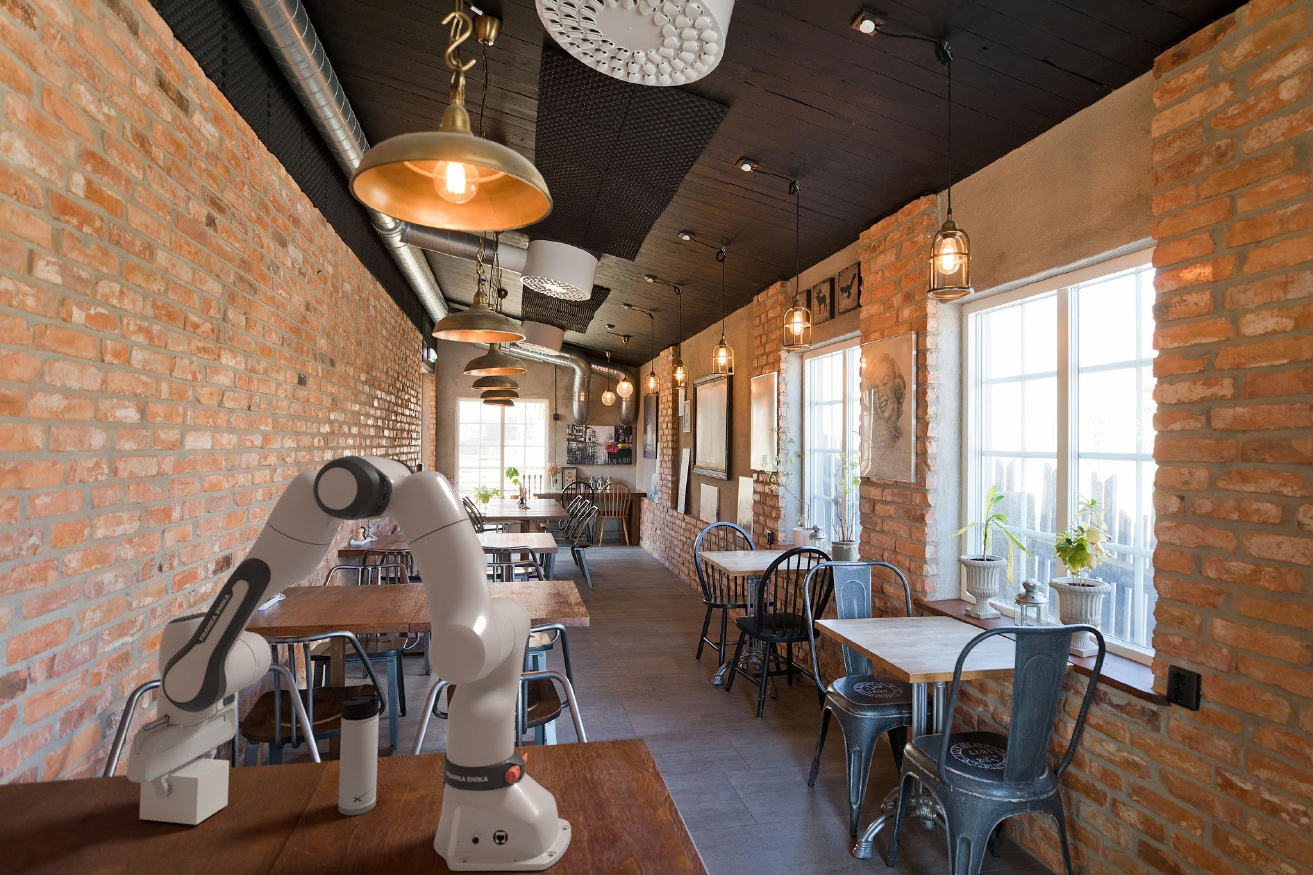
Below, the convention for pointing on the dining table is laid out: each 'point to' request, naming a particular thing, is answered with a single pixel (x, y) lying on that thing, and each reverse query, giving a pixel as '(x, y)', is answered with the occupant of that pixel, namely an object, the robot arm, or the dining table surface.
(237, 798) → the dining table surface
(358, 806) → the travel mug
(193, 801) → the off-white rectangular block
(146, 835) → the dining table surface
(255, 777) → the dining table surface
